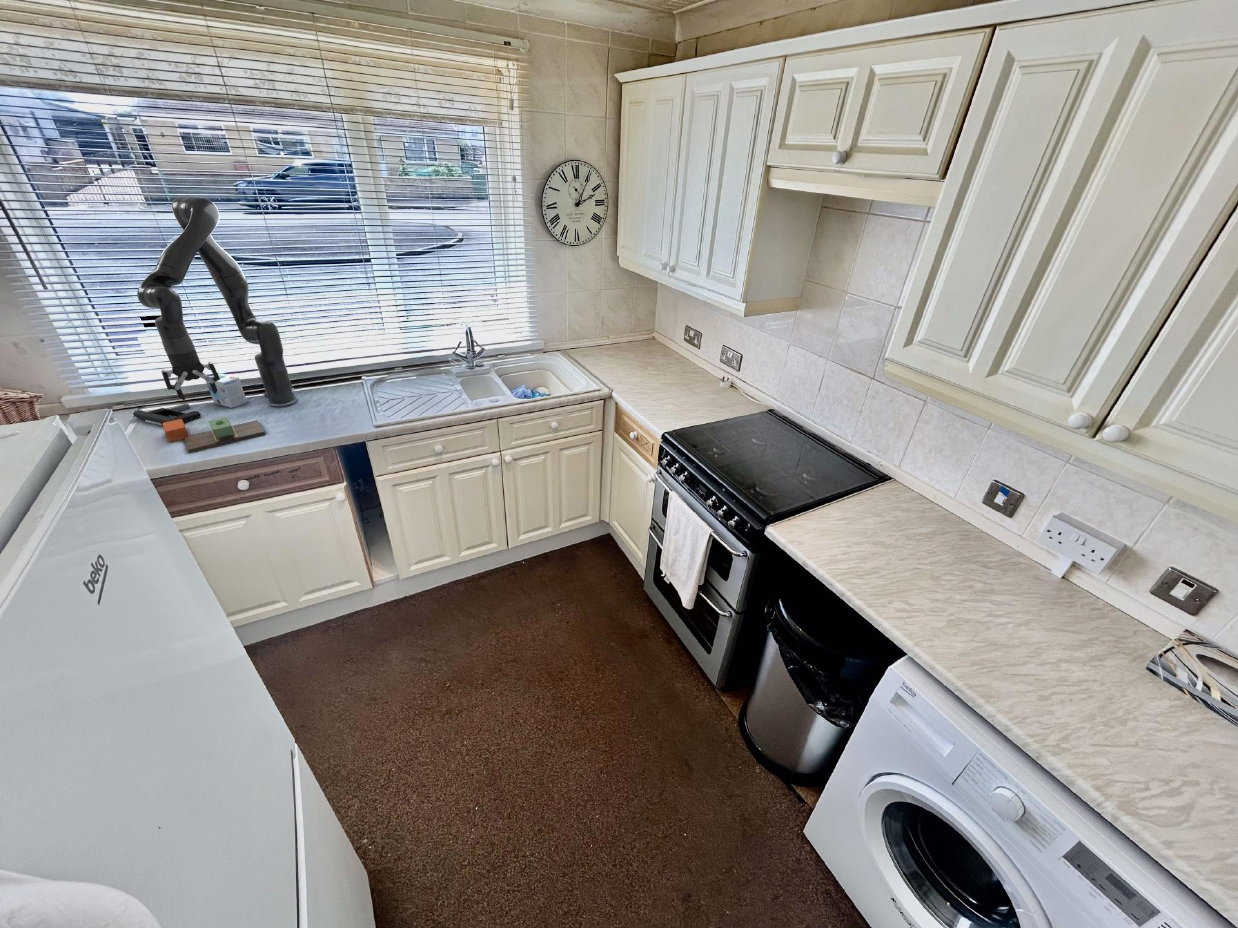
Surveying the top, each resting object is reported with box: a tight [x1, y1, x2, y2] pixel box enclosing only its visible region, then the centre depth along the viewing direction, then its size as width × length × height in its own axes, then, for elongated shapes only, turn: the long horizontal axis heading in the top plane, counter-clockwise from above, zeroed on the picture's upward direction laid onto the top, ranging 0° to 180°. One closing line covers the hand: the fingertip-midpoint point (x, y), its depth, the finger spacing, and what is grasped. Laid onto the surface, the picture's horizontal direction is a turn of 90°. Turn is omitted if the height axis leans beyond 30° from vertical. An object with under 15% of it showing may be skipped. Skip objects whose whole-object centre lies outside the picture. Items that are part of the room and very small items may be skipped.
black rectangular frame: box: [132, 402, 202, 426], centre depth 195 cm, size 3×20×16 cm
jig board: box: [183, 419, 266, 453], centre depth 182 cm, size 12×22×2 cm, turn 131°
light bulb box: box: [205, 373, 248, 409], centre depth 205 cm, size 11×7×11 cm, turn 68°
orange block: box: [162, 419, 189, 443], centre depth 182 cm, size 9×6×4 cm, turn 41°
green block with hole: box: [208, 416, 235, 440], centre depth 181 cm, size 9×6×5 cm, turn 41°
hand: (199, 396), depth 175 cm, fingers open, 8 cm apart
